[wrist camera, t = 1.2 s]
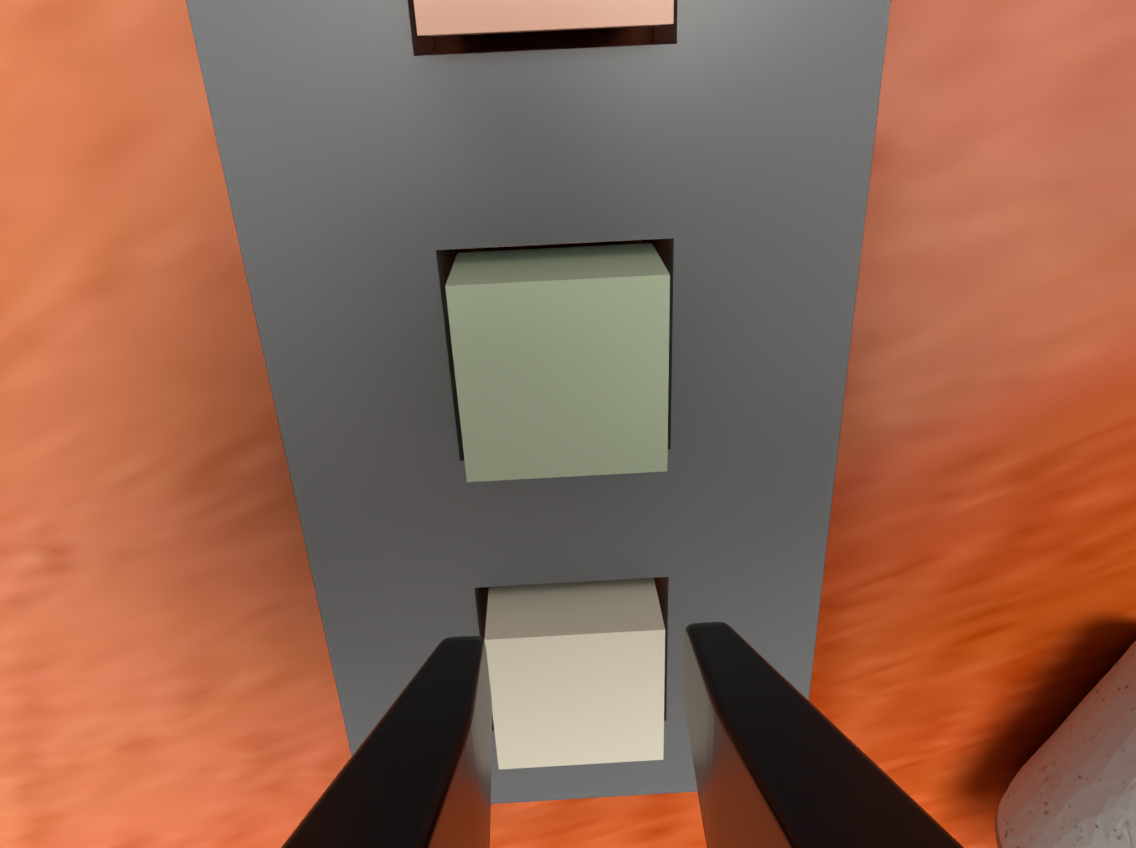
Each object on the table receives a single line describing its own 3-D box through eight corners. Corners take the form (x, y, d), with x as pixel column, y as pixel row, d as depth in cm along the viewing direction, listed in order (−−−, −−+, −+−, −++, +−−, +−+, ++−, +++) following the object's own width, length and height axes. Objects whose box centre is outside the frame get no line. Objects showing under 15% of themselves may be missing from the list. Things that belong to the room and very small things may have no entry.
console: (873, -442, 14) (955, -561, 11) (769, 704, 25) (798, 785, 22) (163, -415, 13) (68, -531, 11) (382, 727, 25) (363, 811, 22)
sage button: (651, 242, 16) (670, 274, 14) (650, 418, 18) (667, 471, 16) (457, 252, 16) (445, 286, 14) (475, 427, 18) (466, 482, 16)
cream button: (650, 563, 20) (665, 629, 18) (650, 685, 22) (663, 760, 19) (490, 572, 20) (484, 640, 18) (502, 693, 22) (498, 769, 19)
